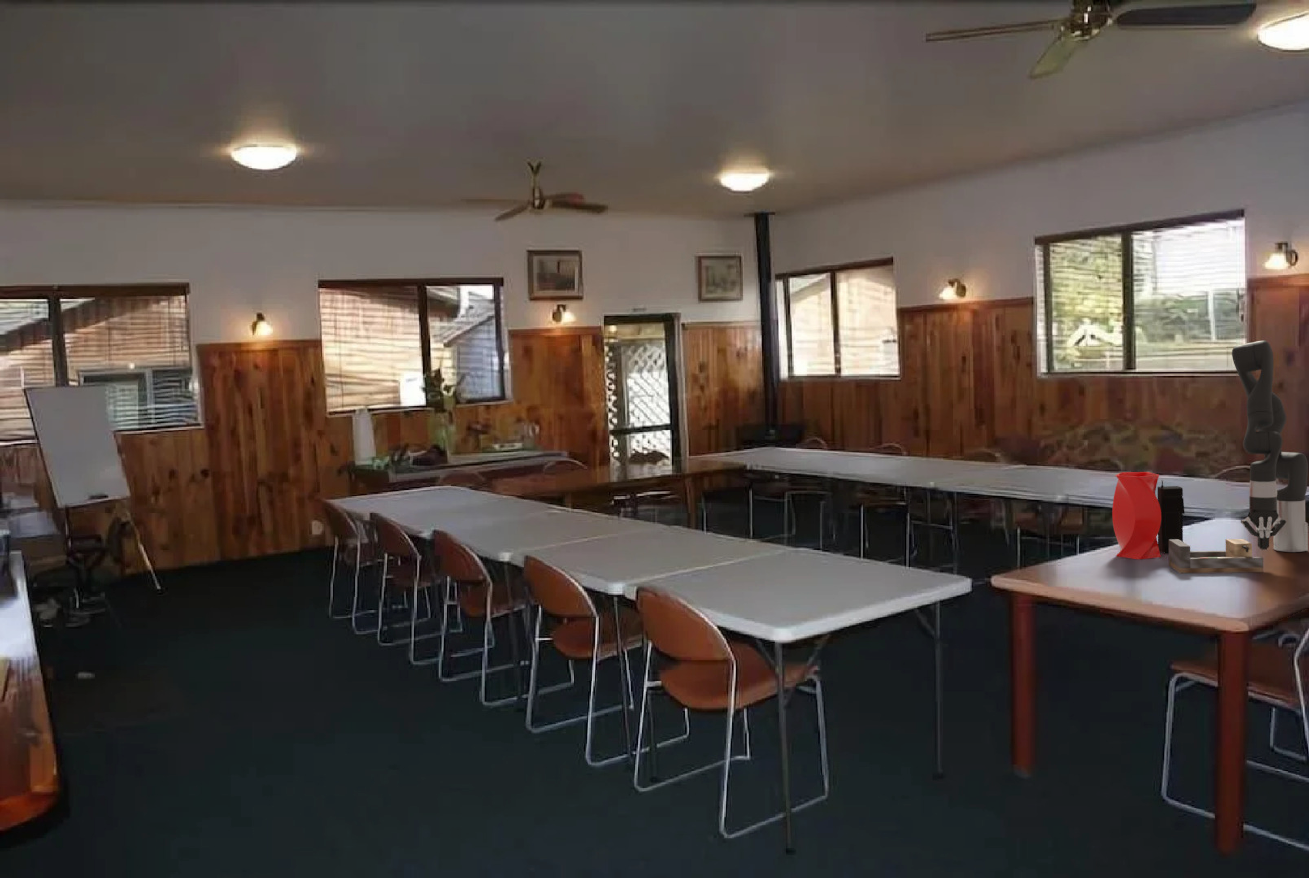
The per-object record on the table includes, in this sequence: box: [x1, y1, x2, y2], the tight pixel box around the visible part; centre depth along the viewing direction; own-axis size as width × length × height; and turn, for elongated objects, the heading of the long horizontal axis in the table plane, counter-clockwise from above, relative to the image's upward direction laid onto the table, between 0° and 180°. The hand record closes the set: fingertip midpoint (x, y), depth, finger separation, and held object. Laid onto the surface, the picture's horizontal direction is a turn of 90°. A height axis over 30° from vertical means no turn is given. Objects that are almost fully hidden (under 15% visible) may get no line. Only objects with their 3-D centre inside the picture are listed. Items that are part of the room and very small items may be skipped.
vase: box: [1111, 471, 1162, 560], centre depth 357 cm, size 15×14×28 cm
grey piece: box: [1168, 539, 1264, 574], centre depth 332 cm, size 24×12×8 cm, turn 79°
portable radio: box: [1157, 480, 1186, 554], centre depth 359 cm, size 8×6×25 cm
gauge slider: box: [1225, 538, 1253, 557], centre depth 328 cm, size 5×12×7 cm, turn 169°
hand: (1263, 549), depth 329 cm, fingers closed
